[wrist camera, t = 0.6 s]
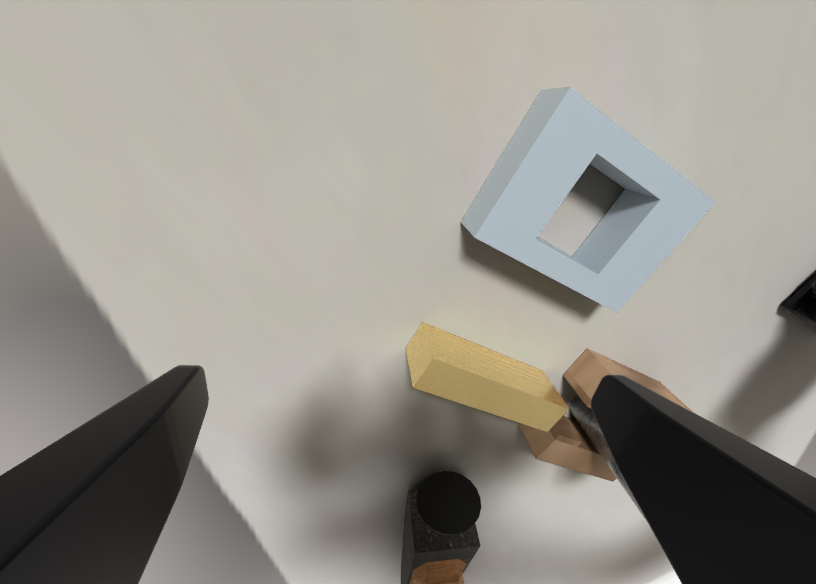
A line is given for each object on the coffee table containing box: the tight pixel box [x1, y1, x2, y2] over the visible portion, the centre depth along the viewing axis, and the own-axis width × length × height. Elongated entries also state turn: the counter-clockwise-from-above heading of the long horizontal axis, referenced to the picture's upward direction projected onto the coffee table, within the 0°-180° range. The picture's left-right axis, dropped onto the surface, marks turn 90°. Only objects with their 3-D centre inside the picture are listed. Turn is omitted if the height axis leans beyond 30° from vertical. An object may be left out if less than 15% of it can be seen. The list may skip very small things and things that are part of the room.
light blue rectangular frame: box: [461, 87, 716, 313], centre depth 18 cm, size 10×7×2 cm
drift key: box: [406, 322, 569, 432], centre depth 22 cm, size 10×2×4 cm, turn 61°
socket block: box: [519, 349, 692, 481], centre depth 25 cm, size 8×8×3 cm
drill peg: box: [570, 395, 647, 521], centre depth 23 cm, size 3×3×9 cm
